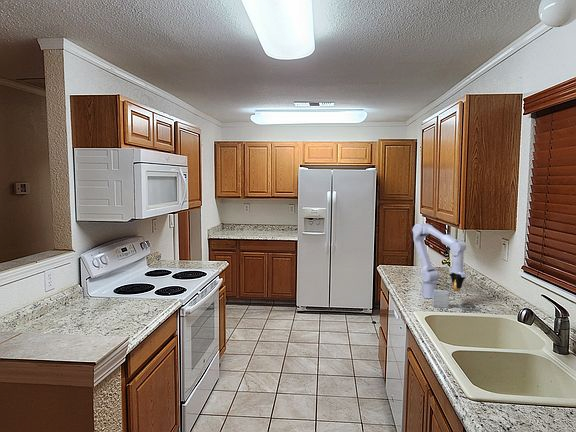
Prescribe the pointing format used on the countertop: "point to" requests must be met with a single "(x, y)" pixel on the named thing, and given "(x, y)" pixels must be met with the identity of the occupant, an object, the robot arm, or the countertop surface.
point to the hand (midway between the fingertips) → (456, 287)
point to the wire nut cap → (456, 287)
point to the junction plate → (468, 307)
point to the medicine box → (440, 298)
